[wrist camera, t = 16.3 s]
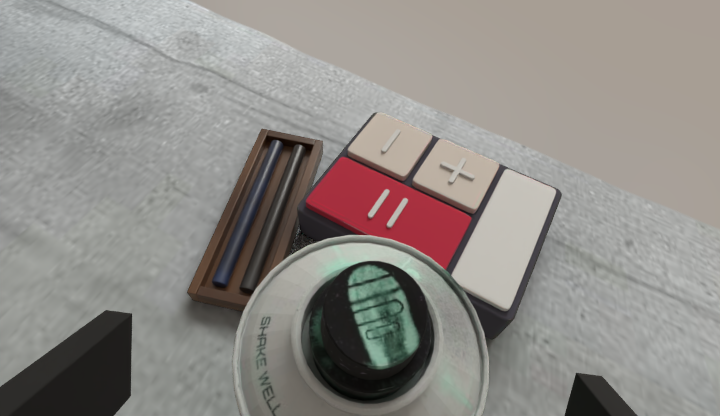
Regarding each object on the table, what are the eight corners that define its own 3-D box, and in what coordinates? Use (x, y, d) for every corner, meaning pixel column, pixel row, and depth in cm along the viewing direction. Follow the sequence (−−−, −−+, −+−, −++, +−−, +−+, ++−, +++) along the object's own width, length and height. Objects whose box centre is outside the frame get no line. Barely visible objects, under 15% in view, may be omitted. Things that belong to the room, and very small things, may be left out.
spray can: (332, 356, 25) (352, 125, 9) (405, 421, 24) (602, 289, 7) (266, 436, 23) (115, 325, 6) (342, 513, 21) (419, 649, 5)
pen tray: (263, 140, 34) (261, 126, 33) (323, 152, 34) (322, 139, 33) (192, 300, 27) (185, 291, 25) (268, 317, 26) (265, 309, 25)
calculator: (375, 102, 32) (569, 183, 28) (372, 140, 36) (544, 218, 32) (292, 201, 27) (517, 320, 23) (298, 235, 30) (493, 343, 26)
